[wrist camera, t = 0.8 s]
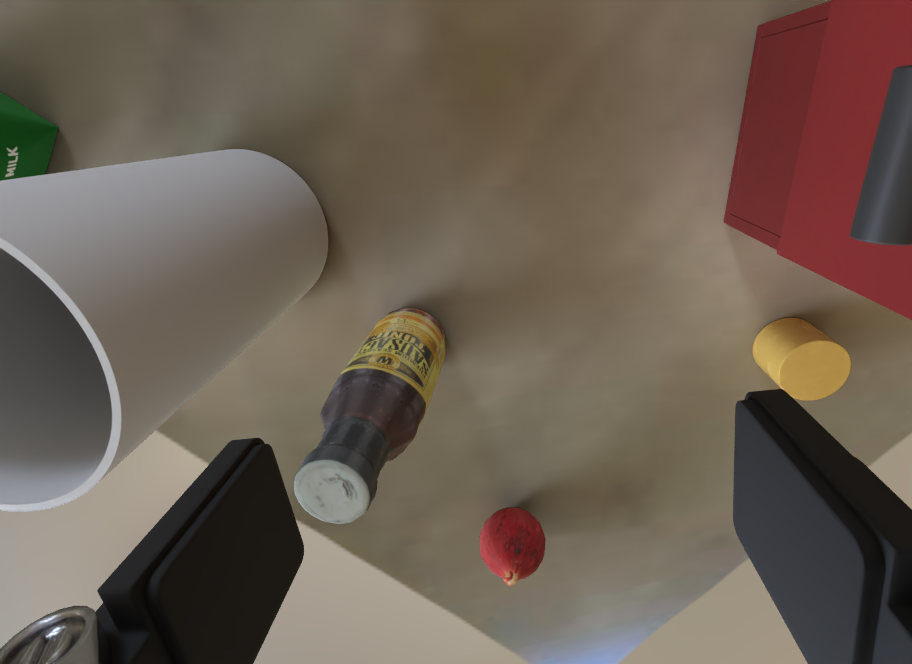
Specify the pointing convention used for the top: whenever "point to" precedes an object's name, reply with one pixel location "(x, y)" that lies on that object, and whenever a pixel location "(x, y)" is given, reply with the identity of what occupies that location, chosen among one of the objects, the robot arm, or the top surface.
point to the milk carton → (23, 141)
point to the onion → (512, 544)
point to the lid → (858, 157)
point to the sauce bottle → (371, 414)
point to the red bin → (774, 122)
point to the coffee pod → (801, 359)
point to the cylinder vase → (135, 302)
